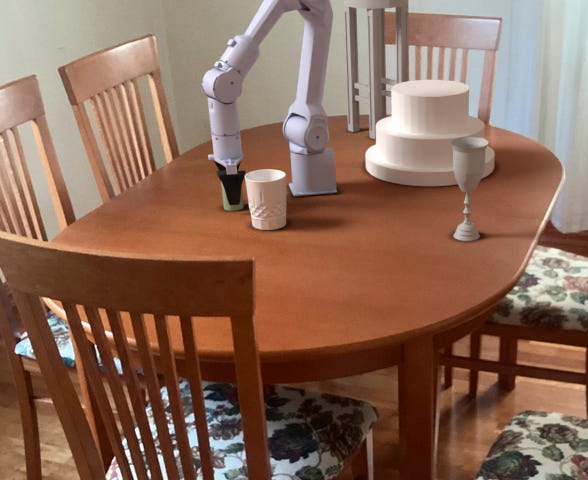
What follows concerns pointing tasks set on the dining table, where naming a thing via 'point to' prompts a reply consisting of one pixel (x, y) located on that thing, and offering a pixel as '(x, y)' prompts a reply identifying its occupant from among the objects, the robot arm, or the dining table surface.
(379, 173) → the cake
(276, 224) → the white cup
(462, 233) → the chalice
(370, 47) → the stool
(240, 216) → the dining table surface
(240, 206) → the salt shaker
